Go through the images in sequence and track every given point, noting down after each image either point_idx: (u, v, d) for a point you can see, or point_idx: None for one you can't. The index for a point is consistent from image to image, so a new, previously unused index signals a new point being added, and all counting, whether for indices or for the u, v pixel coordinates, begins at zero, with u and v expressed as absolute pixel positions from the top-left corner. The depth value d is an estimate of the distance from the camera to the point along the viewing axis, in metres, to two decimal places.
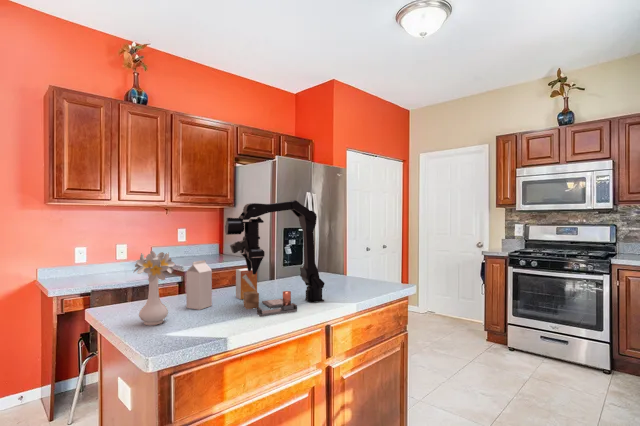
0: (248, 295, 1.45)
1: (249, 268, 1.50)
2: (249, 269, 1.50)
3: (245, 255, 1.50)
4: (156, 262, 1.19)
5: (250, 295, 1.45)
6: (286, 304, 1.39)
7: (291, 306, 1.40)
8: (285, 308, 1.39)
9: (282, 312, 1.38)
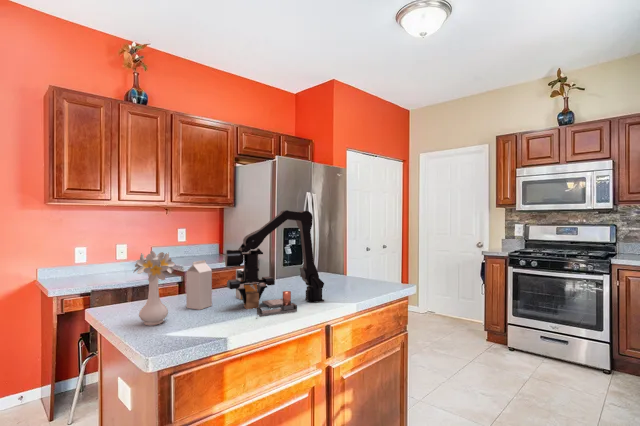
0: (248, 295, 1.45)
1: None
2: None
3: (257, 286, 1.51)
4: (156, 262, 1.19)
5: (250, 295, 1.45)
6: (286, 304, 1.39)
7: (291, 306, 1.40)
8: (285, 308, 1.39)
9: (282, 312, 1.38)
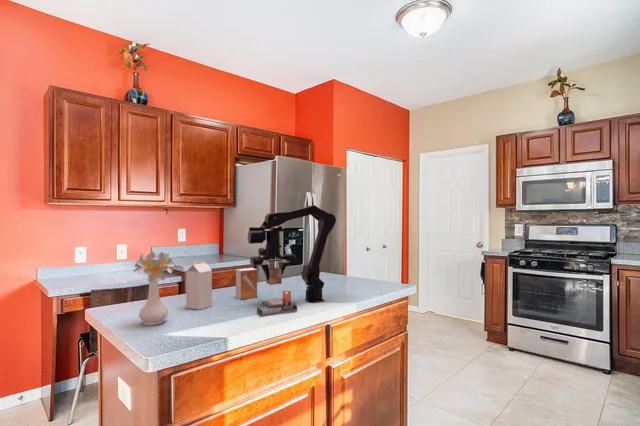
0: (271, 271, 1.48)
1: None
2: None
3: (279, 263, 1.54)
4: (156, 262, 1.19)
5: (273, 271, 1.49)
6: (286, 304, 1.39)
7: (291, 306, 1.40)
8: (285, 308, 1.39)
9: (282, 312, 1.38)
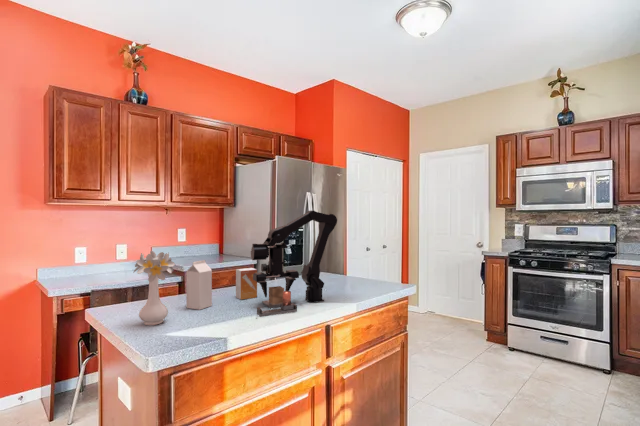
0: (274, 290, 1.49)
1: None
2: None
3: (286, 279, 1.55)
4: (156, 262, 1.19)
5: (276, 290, 1.49)
6: (286, 304, 1.39)
7: (291, 306, 1.40)
8: (285, 308, 1.39)
9: (282, 312, 1.38)
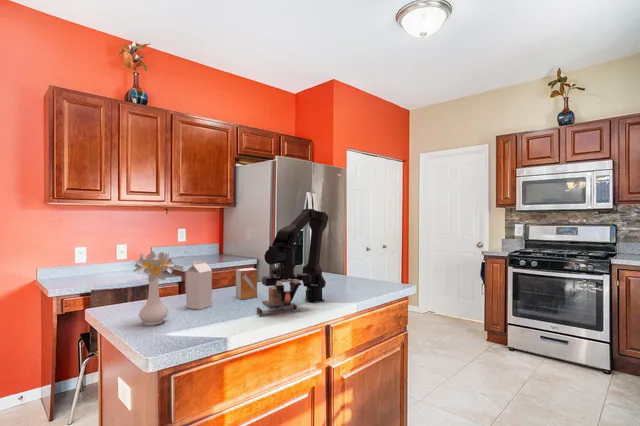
0: (274, 290, 1.49)
1: None
2: None
3: (290, 283, 1.43)
4: (156, 262, 1.19)
5: (276, 290, 1.49)
6: (286, 304, 1.39)
7: (291, 306, 1.40)
8: (285, 308, 1.39)
9: (282, 312, 1.38)
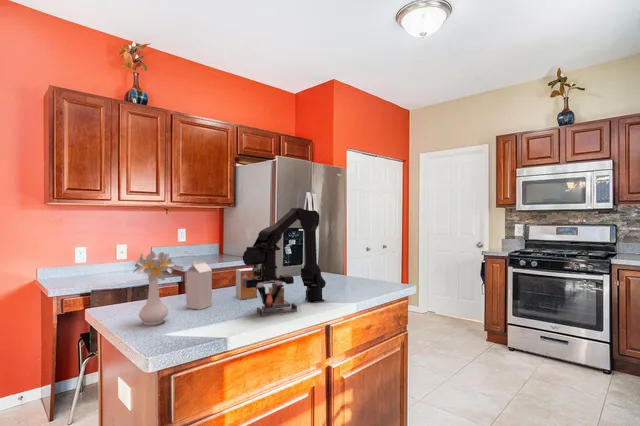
0: None
1: None
2: None
3: (272, 285, 1.40)
4: (156, 262, 1.19)
5: None
6: (267, 307, 1.36)
7: (273, 308, 1.36)
8: (267, 310, 1.35)
9: (282, 312, 1.38)
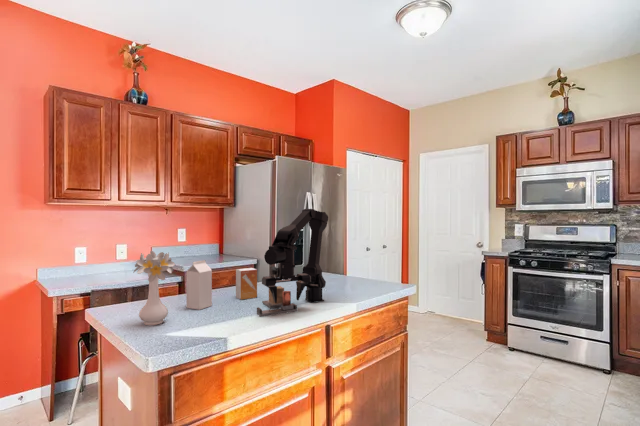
0: None
1: (297, 297, 1.43)
2: (297, 298, 1.43)
3: (297, 283, 1.45)
4: (156, 262, 1.19)
5: None
6: (285, 304, 1.39)
7: (291, 306, 1.40)
8: (285, 308, 1.39)
9: (282, 312, 1.38)
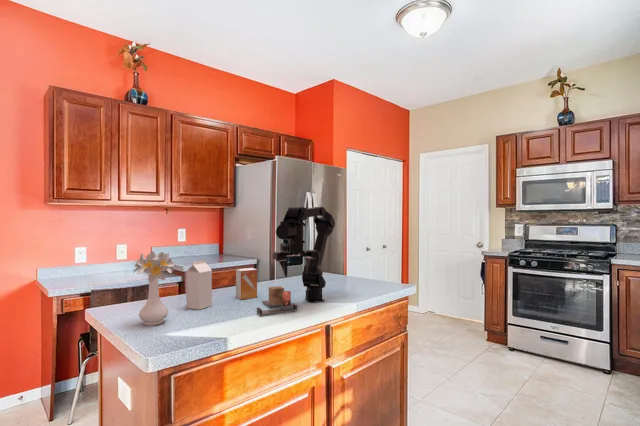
0: (274, 290, 1.49)
1: (306, 272, 1.48)
2: (306, 273, 1.48)
3: (306, 259, 1.50)
4: (156, 262, 1.19)
5: (276, 290, 1.49)
6: (285, 304, 1.39)
7: (291, 306, 1.40)
8: (285, 308, 1.39)
9: (282, 312, 1.38)
